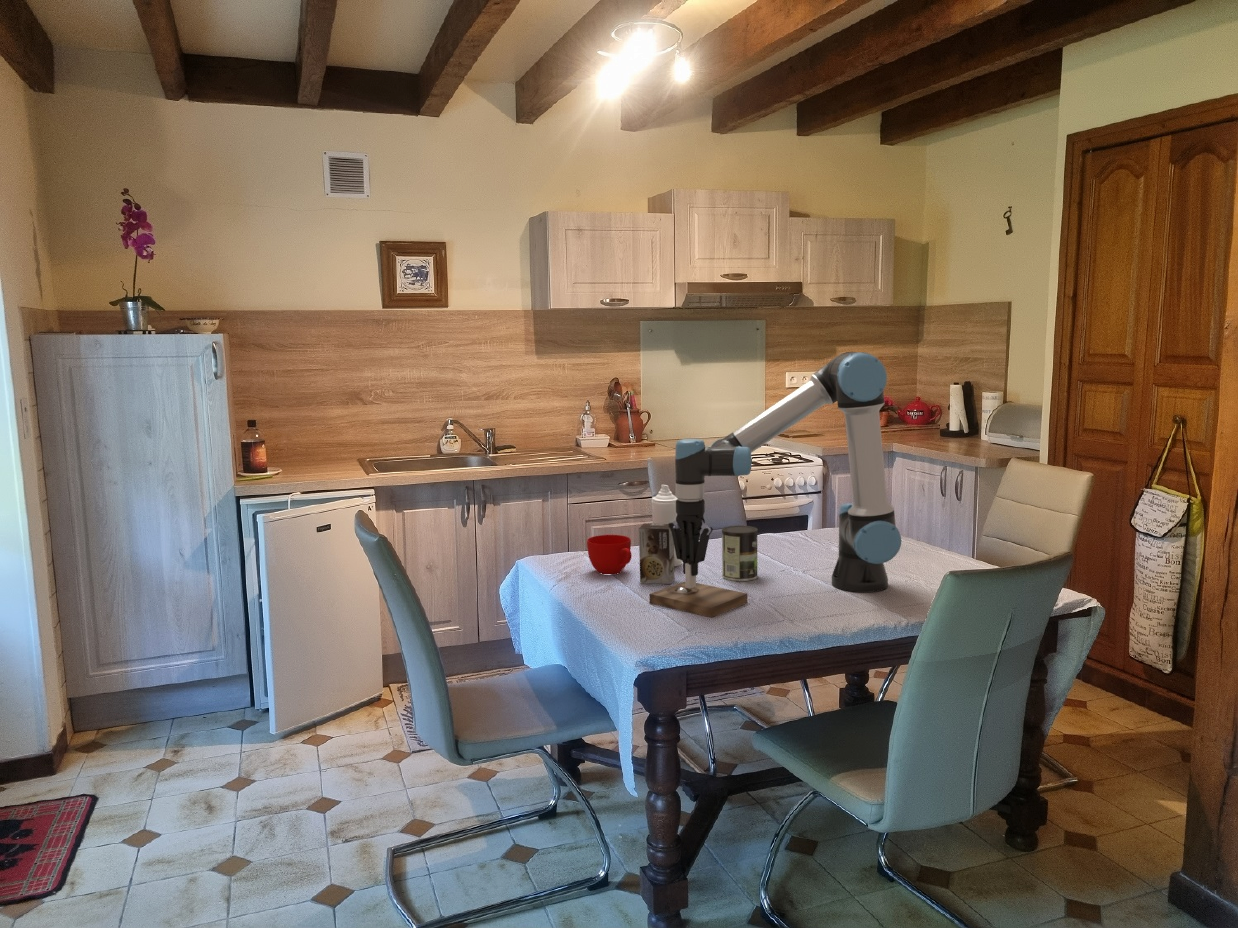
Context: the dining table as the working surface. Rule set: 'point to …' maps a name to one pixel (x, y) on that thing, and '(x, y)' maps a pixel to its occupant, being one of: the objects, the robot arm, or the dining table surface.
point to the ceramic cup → (609, 553)
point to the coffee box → (656, 554)
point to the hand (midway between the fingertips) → (690, 586)
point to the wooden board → (699, 599)
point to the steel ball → (681, 590)
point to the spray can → (665, 511)
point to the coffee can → (739, 553)
